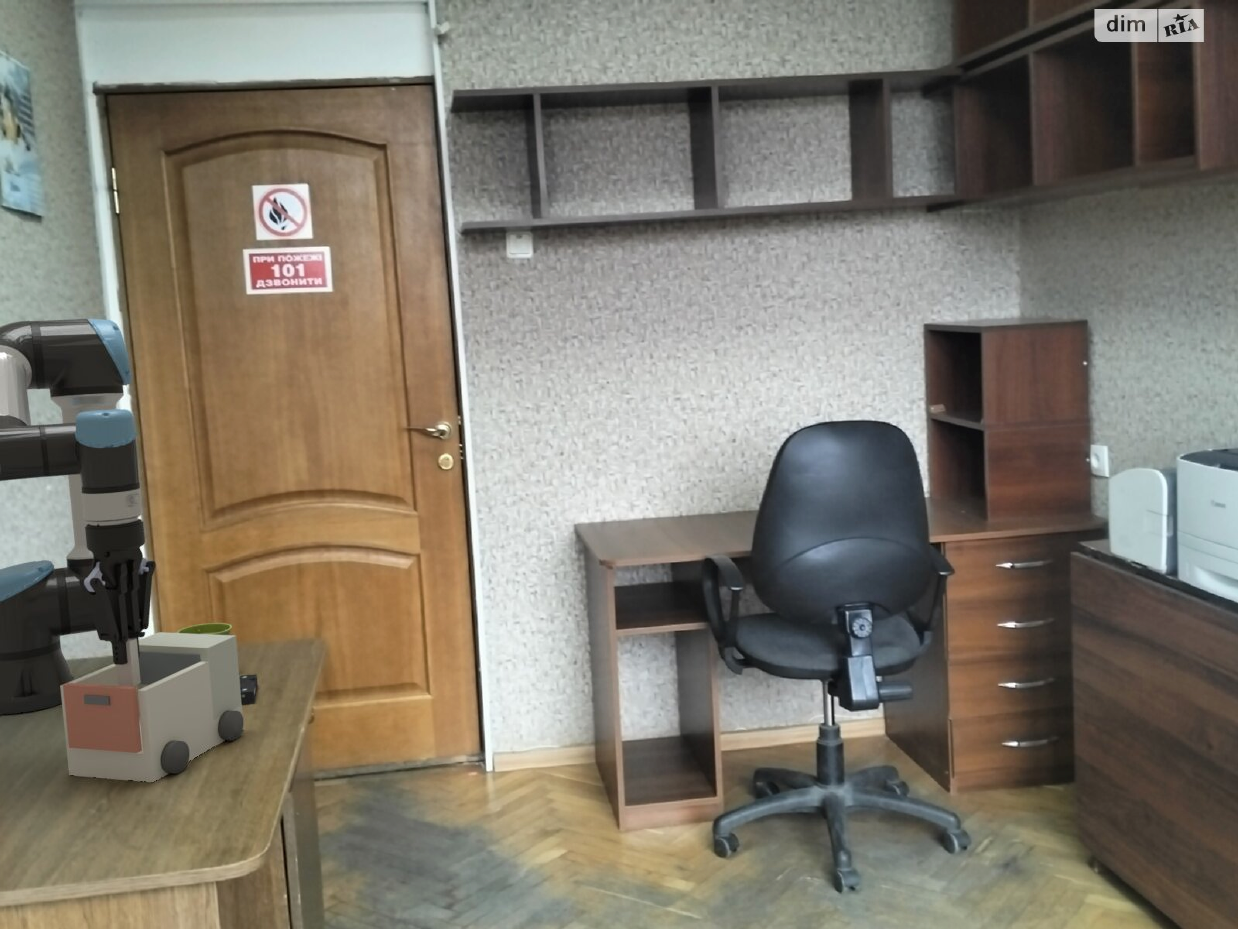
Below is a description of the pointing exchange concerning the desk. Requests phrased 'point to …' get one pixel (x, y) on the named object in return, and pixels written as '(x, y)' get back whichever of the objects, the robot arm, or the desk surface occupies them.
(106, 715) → the panel
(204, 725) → the truck
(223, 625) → the plant pot
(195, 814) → the desk surface
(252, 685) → the disk drive
